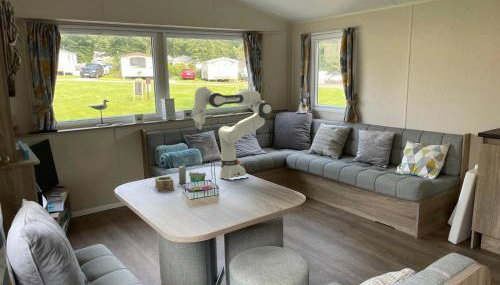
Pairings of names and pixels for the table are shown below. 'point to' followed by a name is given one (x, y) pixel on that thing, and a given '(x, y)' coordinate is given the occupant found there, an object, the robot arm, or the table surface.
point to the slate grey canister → (182, 174)
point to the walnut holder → (164, 183)
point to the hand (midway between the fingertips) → (198, 128)
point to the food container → (197, 177)
